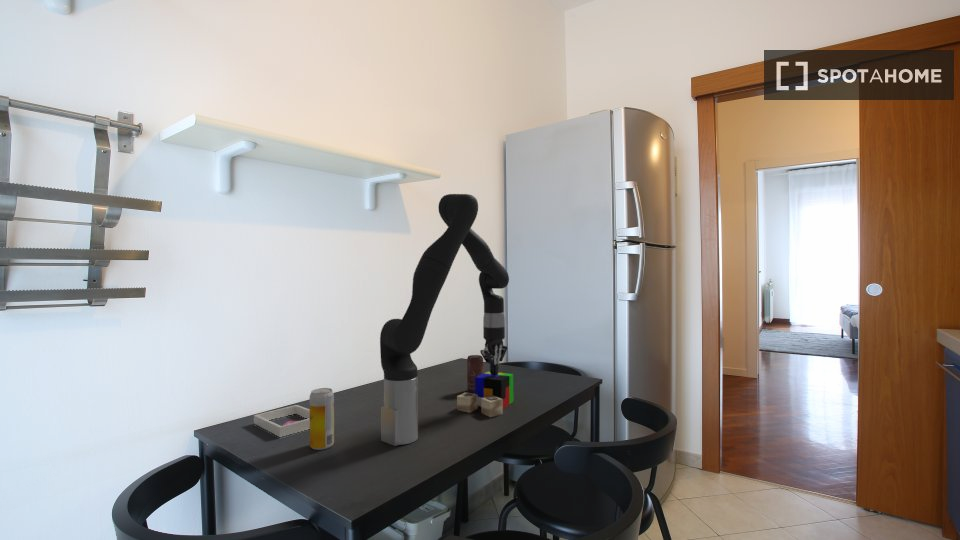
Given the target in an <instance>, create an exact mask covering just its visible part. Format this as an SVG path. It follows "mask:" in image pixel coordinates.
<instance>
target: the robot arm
mask: <svg viewBox="0 0 960 540" xmlns="http://www.w3.org/2000/svg"><path fill="white" fill-rule="evenodd" d="M478 212H479V203H478V199H477V198H476V197H475V195H472V194H467V193H449V194H445V195H443V196H442V197H441V198H440V200H439V203H438V213H439V216H440V218H441V219H442V221H443V222H444V224H445V225H446V226H447V228H446V230H445V231H444V232H443V234H442V235H440V236H439V237H438V238H437V239H436V240H435V241H433V242H432V243H431V244H430V245H429V246H427V248H426V249H425V250H424V252H423V253H422V255H421V256H420V258H419V261H418V264H417V265H416V268H415V270H414V272H413V276H412V289H411V290H412V292H411V299H410V303H408V304H409V305H408V307H407V309H406V311H405V313H404V315H403V317H402V318H391V319H389V320H388V321H386V322H385V323H384V324H383V326H382V328H381V330H380V335H379V348H380V349H379V350H380V352H379V353H380V365H381V368H382V371H383V405H382V406H381V407H380V428H381V429H380V434H381V435H380V439H381V442H384V443H386V444H388V445H391V446H393V447H397V446H400V445H408V444H411V443H414V442H416V441H417V440H418V439H419V435H418V434H419V416H418V415H419V410H418V409H419V408H418V407H419V405H418V404H419V403H418V402H419V401H418V396H419V395H418V393H419V392H418V390H419V388H418V387H419V385H418V384H419V383H418V381H419V380H418V378H419V377H418V376H419V375H418V372H419V371H418V367H417V365H416V363H415V362H414V361H413V358H412V355H411V354H412V353H414V352H416V351H417V349H419V347H420V345H421V344H422V341H423V339H424V337H425V333H426V330H427V327H428V324H429V321H430V317H431V315H432V312H433V309H434V307H435V305H436V303H437V300H438V299H439V295H440V293H441V290H442V288H443V287H444V284H445V283H446V280H447V278H448V276H449V273H450V270H451V269H452V265H453V264H454V261H455V259H456V257H457V254H458V253H459V250H460V249H461V246H463V247H464V249H465V250H466V252H467V253H468V255H469V257H470V258H471V261H472V262H473V264H474V266H475V268H476V269H477V271H479V272H480V273H479V275H478V283H479V287H480V291H481V294H482V299H483V321H482V322H483V332H482V333H483V339H484V340H485V342H484V348H483V349H480V350H479V351H480V355H481V356H482V357H483V361H484V362H485V363H486V364H489V365H490V366H489V372H490V373H491V375H498V373H499V364H500V362H502V361H503V359H505V358H504V357H505V356H506V353H507V350H508V346H507V345H504V341H503V340H504V339H505V337H506V331H505V329H506V327H505V326H506V324H505V323H506V318H505V300H504V297H503V296H501V295H498V294H495V292H494V290H493V289H495V290H497V289H498V290H499V289H504V288H506V287H507V286H508V285H509V282H510V277H509V272H508V271H507V269H506V268H505V266H504V265H502V264H501V262H500V261H499V260H497V259H496V258H495V256H494V254H493V252H492V250H491V248H490V247H489V245H488V243H487V242H486V241H485V240H484V239H483V238H482V237H481V236H480V235H479V234H478V233H477V232H476V231H475V230H473V228H472V227H473V224H474V222H475V220H476V219H477V215H478Z"/></svg>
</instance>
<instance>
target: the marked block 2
mask: <svg viewBox="0 0 960 540" xmlns="http://www.w3.org/2000/svg"><path fill="white" fill-rule="evenodd" d="M480 407H481V409H480V410H481V411H480V412H481V414H483V415H485V416H487V417H489V418H494V417H498V416H501V415H502V416H503V414H504V408H503V399H501V398H498V397H495V396H490V397H485V398H481V406H480Z"/></svg>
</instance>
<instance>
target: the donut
mask: <svg viewBox="0 0 960 540" xmlns="http://www.w3.org/2000/svg"><path fill="white" fill-rule="evenodd" d="M298 421H299V420H289V421H286V422H285V423H283V424H282V425H287V424H290V423H294V422H298Z"/></svg>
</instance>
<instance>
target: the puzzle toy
mask: <svg viewBox="0 0 960 540" xmlns="http://www.w3.org/2000/svg"><path fill="white" fill-rule="evenodd" d="M475 394H477V395H478V407H481V398H485V397H490V396H495V397H498V398H501V399H503V409H505V408H506V407H508V406H509V405H511V404H512V403H514V373H508V372H507V373H504V372H498V375H491V373H490V371H485V372H483V374H481V375H479V376H477V377H475Z"/></svg>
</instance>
